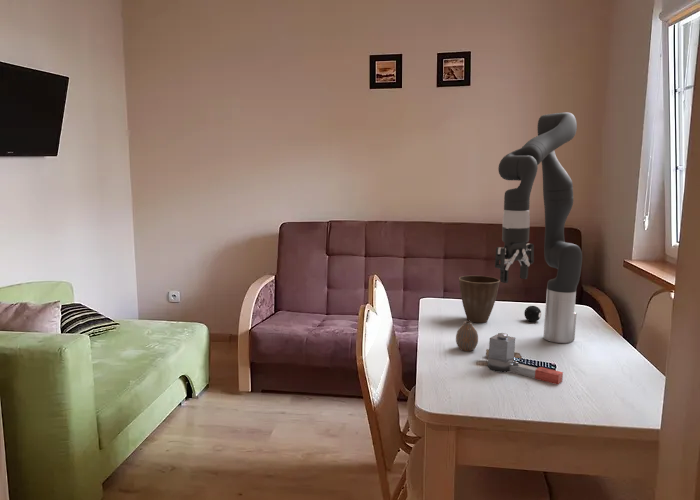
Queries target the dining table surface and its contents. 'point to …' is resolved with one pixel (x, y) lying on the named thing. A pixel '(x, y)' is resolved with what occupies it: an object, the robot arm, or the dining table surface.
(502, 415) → the dining table surface
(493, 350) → the domed steel cube
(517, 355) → the mineral rock
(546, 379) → the ratchet
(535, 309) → the billiard ball
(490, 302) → the plant pot
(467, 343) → the vase
